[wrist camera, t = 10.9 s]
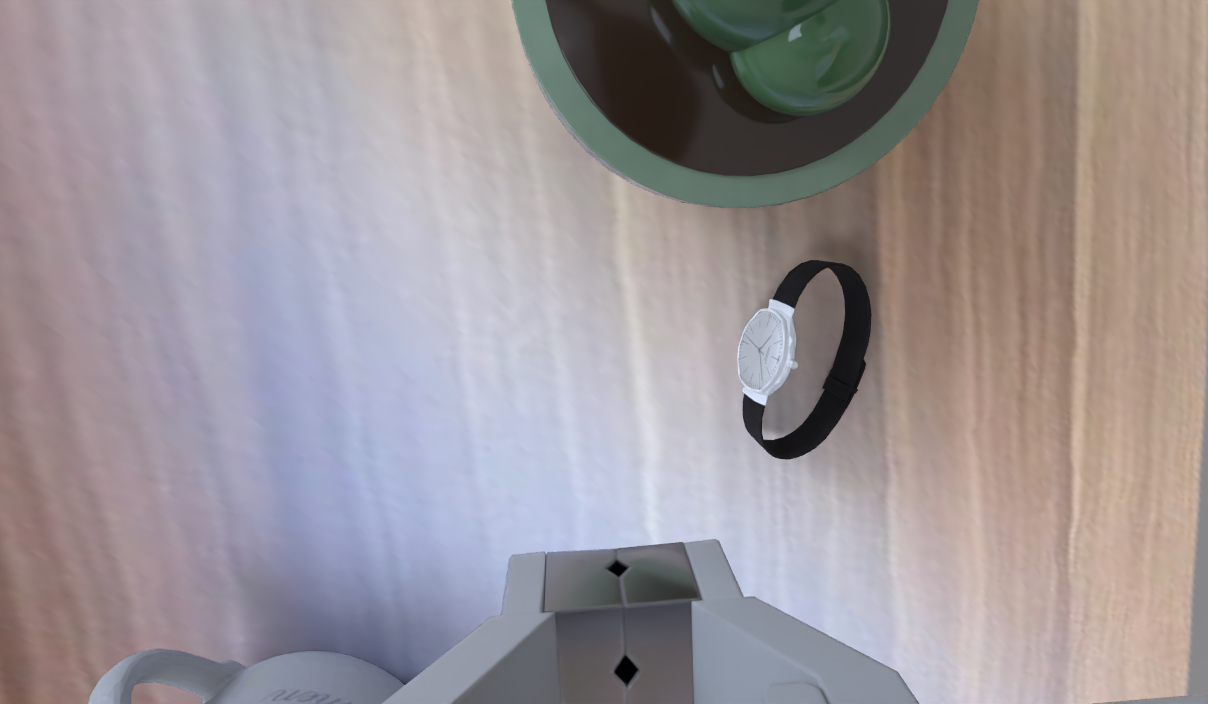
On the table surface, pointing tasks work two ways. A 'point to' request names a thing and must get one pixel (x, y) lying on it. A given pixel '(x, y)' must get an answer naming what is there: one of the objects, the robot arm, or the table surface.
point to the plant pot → (741, 87)
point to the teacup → (252, 679)
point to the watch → (772, 358)
